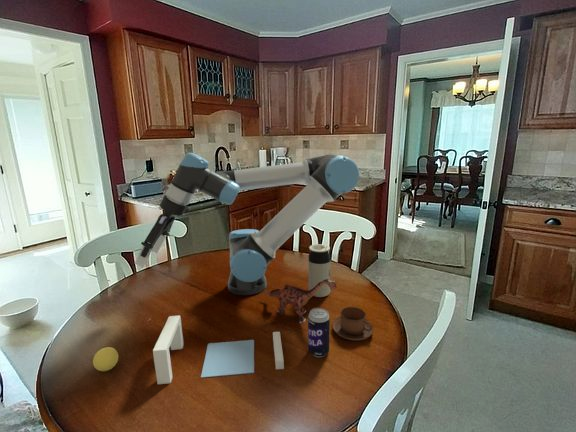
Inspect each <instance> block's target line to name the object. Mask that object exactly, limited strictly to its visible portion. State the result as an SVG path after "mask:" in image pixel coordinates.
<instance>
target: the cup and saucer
mask: <svg viewBox="0 0 576 432" xmlns="http://www.w3.org/2000/svg"><path fill="white" fill-rule="evenodd" d="M366 317H367V315H366V311H364V310H363V309H362V308H359V307H356V306H355V307H354V306H350V307H349V306H348V307H344V308H342V309H341V311H340V316H338V317H336V318H335V319H334V320H333V321H332V329H333V331H334V332H335V333H336V334H337V335H338V336H339V337H341V338H343V339H346V340H350V341H362V340H366V339H368V338H369V337H371V336H372V335H373V332H374V325H373V324H372V322H371V321H369V320H368V319H367V318H366Z"/></svg>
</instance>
